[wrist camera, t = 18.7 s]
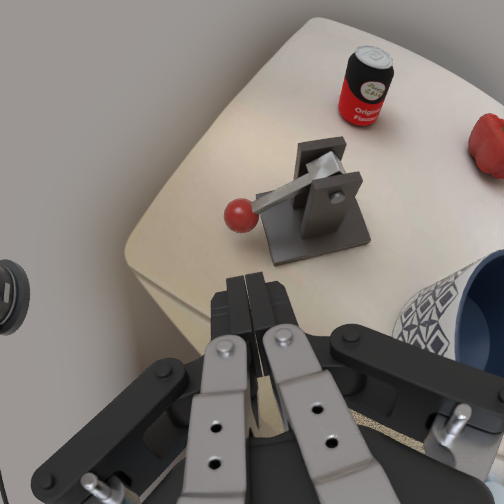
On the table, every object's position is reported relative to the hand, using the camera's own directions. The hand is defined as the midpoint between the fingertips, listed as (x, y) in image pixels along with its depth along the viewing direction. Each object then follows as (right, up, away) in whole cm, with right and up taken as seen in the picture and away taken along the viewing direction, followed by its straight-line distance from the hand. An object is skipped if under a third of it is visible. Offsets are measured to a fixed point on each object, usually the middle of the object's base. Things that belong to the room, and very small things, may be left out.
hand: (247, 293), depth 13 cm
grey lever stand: (+8, +6, +25) cm, 27 cm away
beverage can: (+16, +23, +31) cm, 42 cm away
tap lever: (+4, +7, +19) cm, 20 cm away
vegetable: (+40, +17, +28) cm, 51 cm away
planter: (+24, -10, +20) cm, 32 cm away
